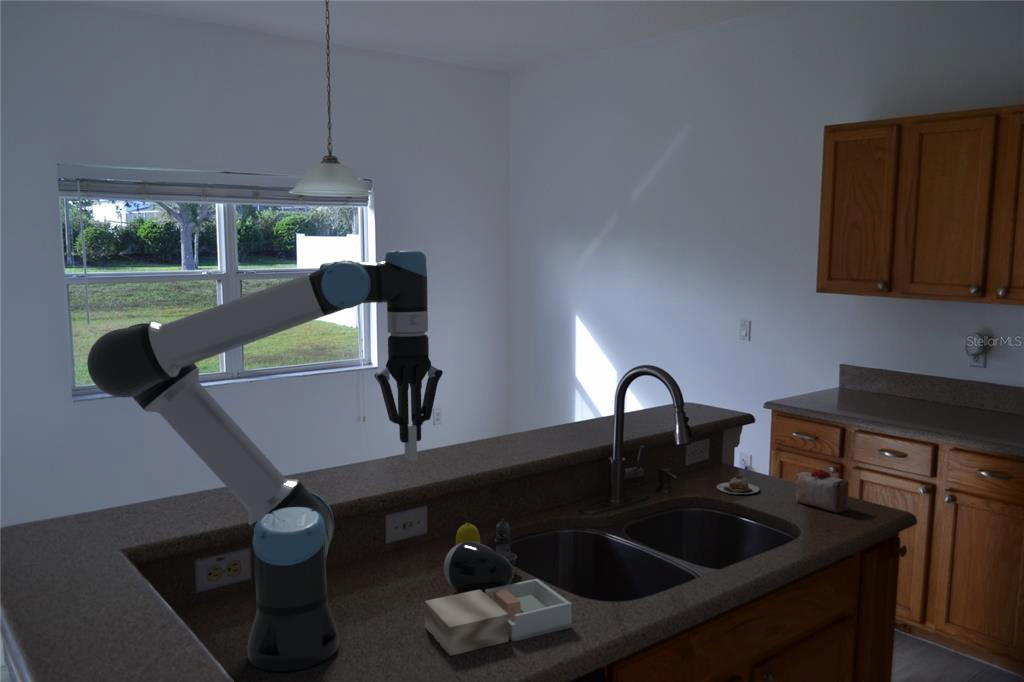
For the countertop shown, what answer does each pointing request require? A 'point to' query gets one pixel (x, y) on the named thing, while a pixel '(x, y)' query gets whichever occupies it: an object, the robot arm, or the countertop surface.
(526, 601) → the sage tile
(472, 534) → the lemon
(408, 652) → the countertop surface
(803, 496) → the food item
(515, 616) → the grey bin
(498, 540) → the dark grey figurine
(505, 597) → the terracotta tile
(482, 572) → the glossy black oval shape
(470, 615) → the cream tray box
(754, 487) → the pastry
